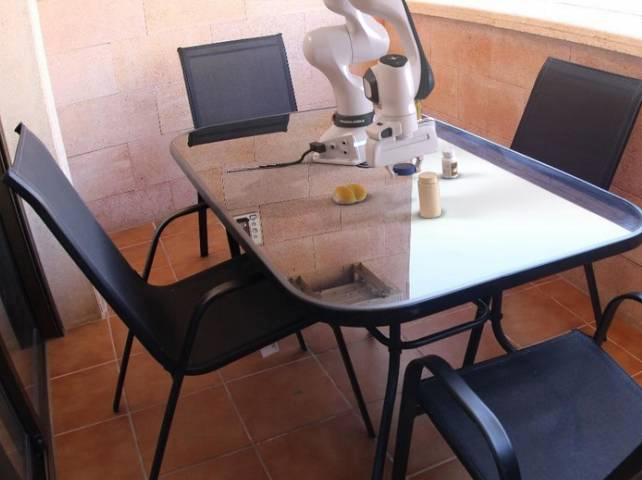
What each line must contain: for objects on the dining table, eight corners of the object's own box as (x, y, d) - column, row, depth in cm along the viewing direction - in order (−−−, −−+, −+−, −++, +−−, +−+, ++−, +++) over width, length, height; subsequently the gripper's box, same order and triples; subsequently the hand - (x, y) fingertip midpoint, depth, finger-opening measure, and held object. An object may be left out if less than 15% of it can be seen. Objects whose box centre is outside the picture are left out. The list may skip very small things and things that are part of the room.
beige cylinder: (418, 218, 169) (414, 178, 164) (422, 209, 174) (419, 170, 168) (439, 218, 168) (436, 179, 163) (442, 209, 173) (440, 171, 167)
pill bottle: (456, 179, 191) (454, 153, 186) (441, 178, 191) (439, 152, 187) (459, 173, 194) (457, 147, 190) (444, 173, 195) (443, 147, 191)
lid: (418, 170, 177) (418, 163, 176) (410, 176, 172) (410, 169, 171) (397, 169, 178) (397, 162, 177) (389, 175, 173) (388, 168, 172)
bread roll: (371, 199, 181) (369, 185, 179) (341, 207, 177) (339, 193, 175) (358, 190, 187) (356, 176, 185) (329, 198, 183) (327, 184, 181)
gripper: (427, 112, 175) (431, 163, 182) (359, 129, 165) (366, 182, 172) (440, 117, 170) (444, 169, 177) (371, 135, 160) (378, 188, 168)
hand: (405, 175), depth 175 cm, fingers closed on lid, 6 cm apart
